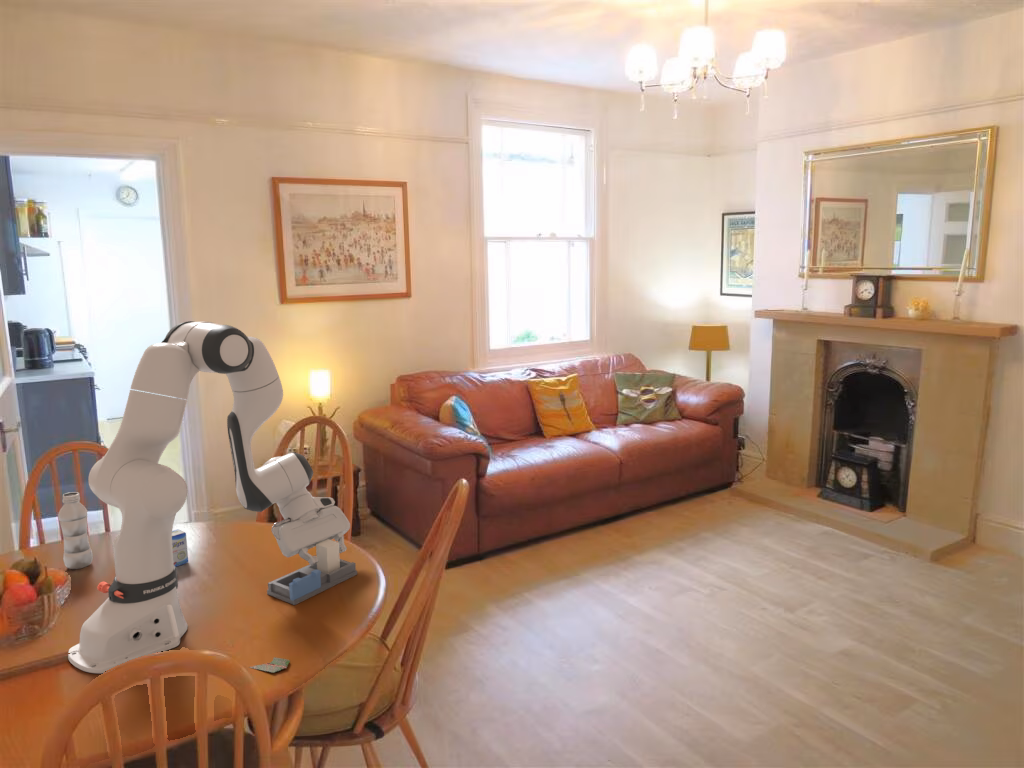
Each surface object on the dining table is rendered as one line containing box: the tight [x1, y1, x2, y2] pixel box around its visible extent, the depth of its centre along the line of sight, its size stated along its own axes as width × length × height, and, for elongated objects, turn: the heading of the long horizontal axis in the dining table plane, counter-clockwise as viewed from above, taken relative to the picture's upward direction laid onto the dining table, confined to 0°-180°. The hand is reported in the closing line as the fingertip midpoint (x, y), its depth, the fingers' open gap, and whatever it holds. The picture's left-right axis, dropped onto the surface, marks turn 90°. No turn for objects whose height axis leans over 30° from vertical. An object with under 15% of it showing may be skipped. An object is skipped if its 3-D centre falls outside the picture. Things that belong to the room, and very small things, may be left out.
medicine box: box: [172, 529, 189, 568], centre depth 187 cm, size 8×4×9 cm, turn 143°
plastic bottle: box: [57, 491, 94, 570], centre depth 185 cm, size 6×7×20 cm
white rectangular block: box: [315, 539, 341, 574], centre depth 181 cm, size 4×4×8 cm
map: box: [248, 657, 291, 673], centre depth 145 cm, size 5×20×1 cm, turn 65°
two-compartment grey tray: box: [266, 558, 358, 606], centre depth 177 cm, size 20×11×6 cm, turn 146°
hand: (329, 557), depth 180 cm, fingers open, 8 cm apart
